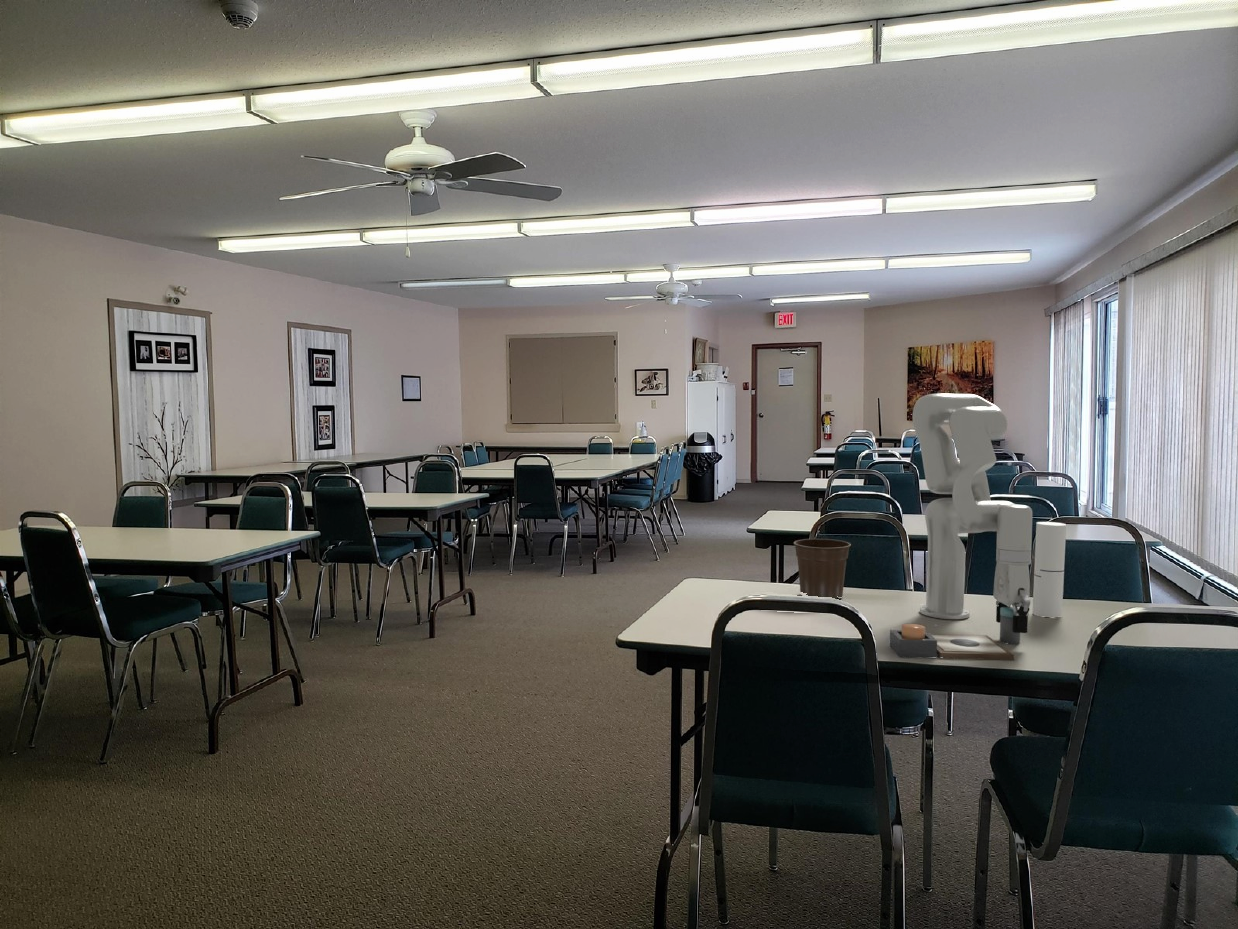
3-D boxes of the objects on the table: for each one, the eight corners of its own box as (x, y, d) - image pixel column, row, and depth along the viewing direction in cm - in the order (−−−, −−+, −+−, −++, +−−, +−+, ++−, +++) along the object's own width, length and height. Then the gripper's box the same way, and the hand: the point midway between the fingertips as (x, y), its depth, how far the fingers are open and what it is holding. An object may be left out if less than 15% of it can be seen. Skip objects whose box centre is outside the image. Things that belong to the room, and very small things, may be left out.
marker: (996, 639, 203) (997, 606, 203) (1015, 639, 203) (1016, 607, 203) (1003, 644, 199) (1005, 611, 198) (1023, 644, 198) (1024, 611, 198)
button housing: (889, 646, 196) (890, 629, 196) (925, 647, 195) (925, 630, 195) (899, 657, 188) (899, 639, 187) (936, 658, 187) (937, 640, 187)
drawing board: (919, 638, 203) (919, 632, 203) (986, 640, 202) (986, 634, 202) (940, 658, 187) (940, 651, 187) (1013, 660, 186) (1014, 653, 186)
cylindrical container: (1054, 619, 223) (1059, 526, 221) (1027, 614, 228) (1031, 523, 226) (1066, 615, 227) (1070, 524, 225) (1039, 610, 233) (1043, 521, 231)
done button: (898, 638, 194) (899, 623, 194) (920, 638, 194) (921, 624, 193) (904, 644, 189) (905, 629, 189) (927, 645, 189) (928, 629, 188)
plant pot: (800, 603, 239) (801, 547, 237) (786, 590, 255) (787, 538, 254) (856, 603, 239) (858, 547, 238) (839, 590, 255) (841, 538, 254)
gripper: (983, 550, 208) (981, 618, 209) (1012, 562, 191) (1009, 636, 192) (1014, 551, 208) (1012, 619, 209) (1046, 562, 191) (1043, 637, 191)
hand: (1011, 627), depth 200 cm, fingers open, 9 cm apart
